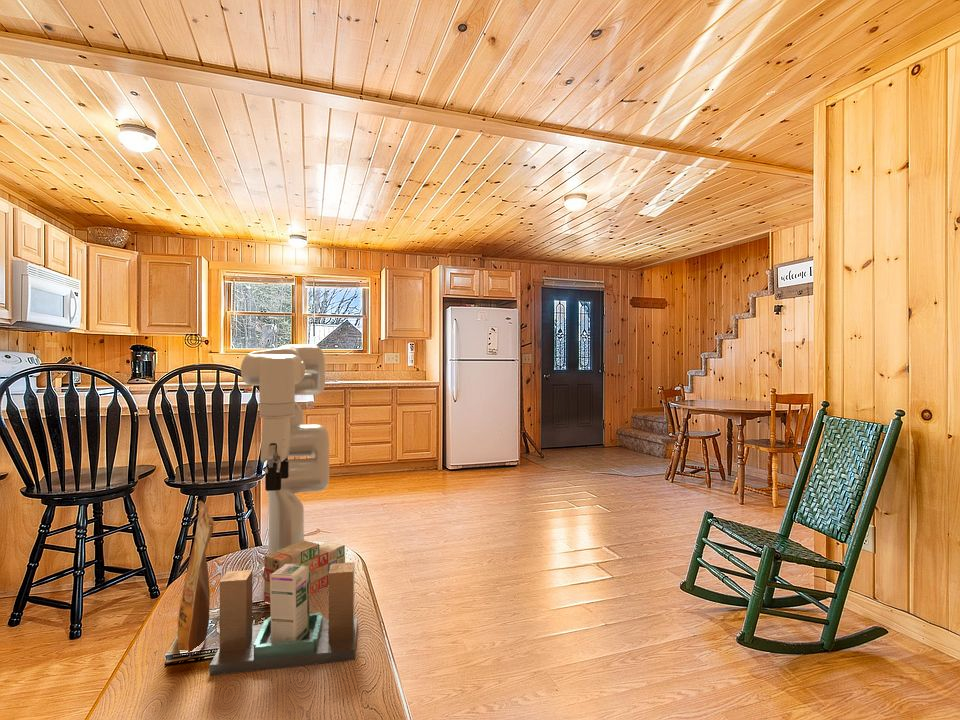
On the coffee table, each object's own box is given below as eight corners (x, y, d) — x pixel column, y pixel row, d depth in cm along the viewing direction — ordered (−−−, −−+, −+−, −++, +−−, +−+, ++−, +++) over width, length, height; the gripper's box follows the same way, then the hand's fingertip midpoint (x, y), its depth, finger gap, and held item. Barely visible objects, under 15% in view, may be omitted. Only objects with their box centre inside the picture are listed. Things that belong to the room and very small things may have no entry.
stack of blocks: (329, 573, 144) (329, 529, 144) (345, 578, 141) (345, 533, 141) (263, 604, 126) (263, 554, 126) (280, 610, 123) (280, 559, 123)
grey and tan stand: (230, 636, 111) (230, 563, 111) (357, 624, 116) (357, 554, 116) (209, 675, 97) (209, 592, 97) (354, 659, 102) (354, 580, 102)
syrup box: (295, 646, 103) (295, 575, 104) (269, 643, 105) (269, 573, 105) (309, 632, 109) (310, 564, 109) (284, 629, 110) (284, 562, 110)
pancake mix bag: (214, 614, 120) (214, 496, 120) (213, 656, 103) (213, 519, 103) (181, 621, 117) (181, 500, 117) (174, 665, 100) (175, 524, 100)
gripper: (267, 405, 124) (267, 474, 125) (250, 416, 107) (251, 496, 108) (299, 405, 126) (299, 473, 126) (288, 415, 109) (288, 494, 109)
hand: (277, 484), depth 117 cm, fingers open, 9 cm apart
